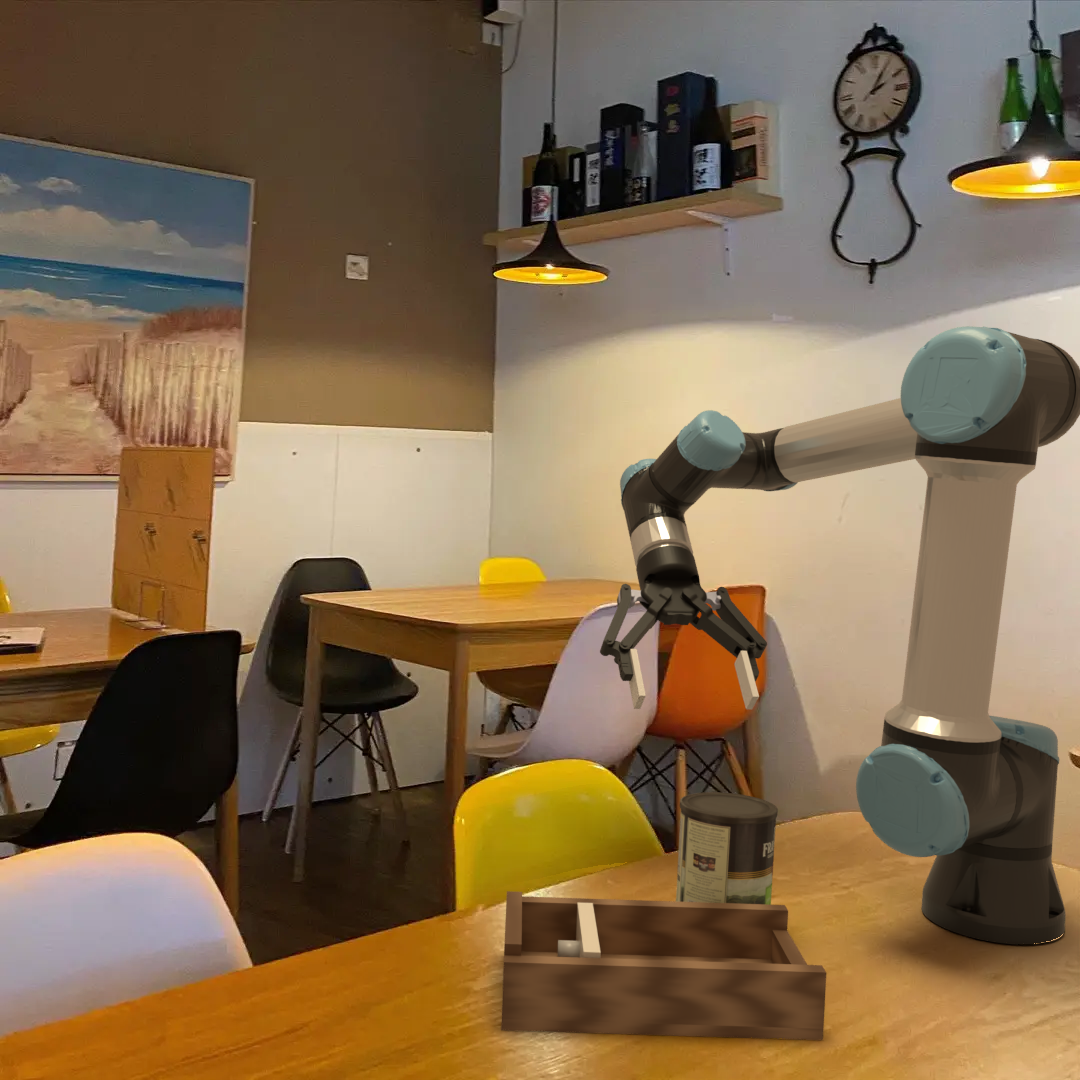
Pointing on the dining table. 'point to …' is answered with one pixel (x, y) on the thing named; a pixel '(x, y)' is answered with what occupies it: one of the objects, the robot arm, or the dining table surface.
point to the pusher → (582, 936)
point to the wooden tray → (660, 971)
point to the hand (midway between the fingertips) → (696, 703)
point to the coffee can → (725, 849)
